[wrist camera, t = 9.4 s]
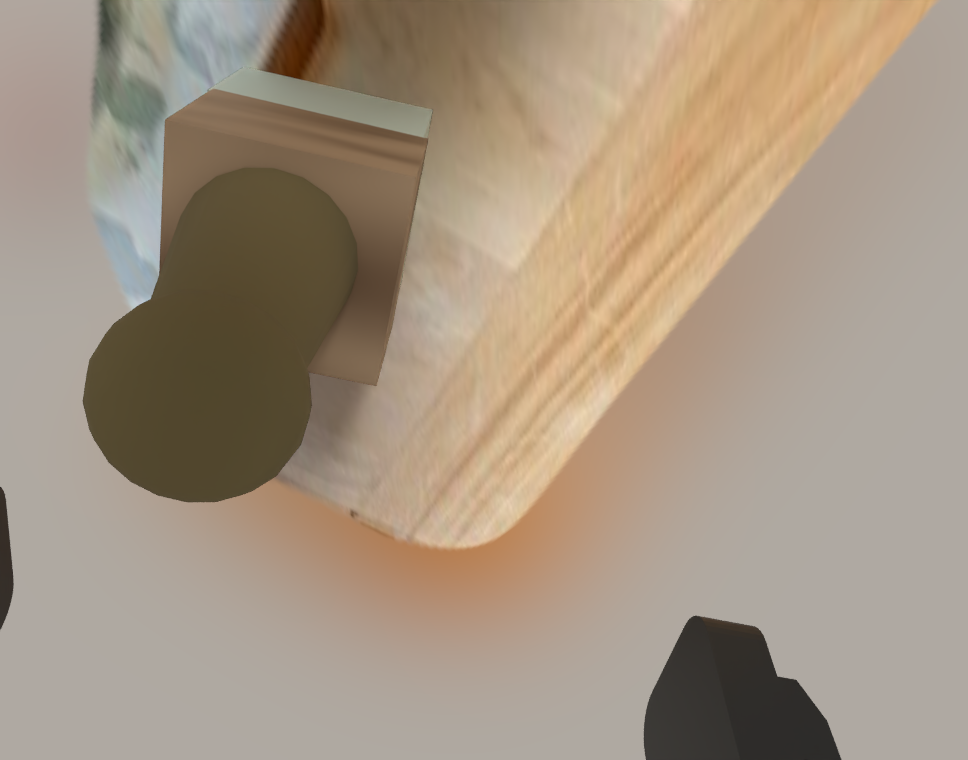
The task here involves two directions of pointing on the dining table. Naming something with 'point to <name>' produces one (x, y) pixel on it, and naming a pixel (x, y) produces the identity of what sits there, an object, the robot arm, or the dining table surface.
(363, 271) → the tower top block
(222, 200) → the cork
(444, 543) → the dining table surface
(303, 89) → the tower base block
